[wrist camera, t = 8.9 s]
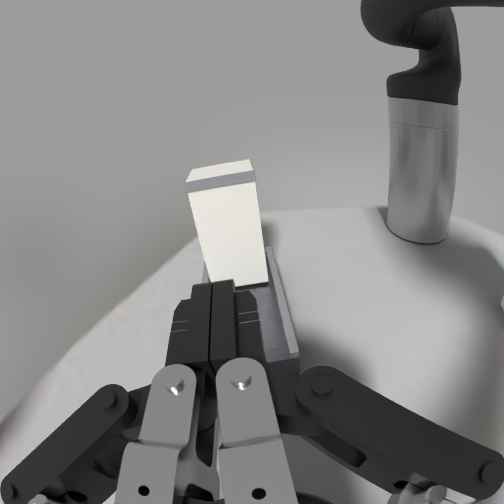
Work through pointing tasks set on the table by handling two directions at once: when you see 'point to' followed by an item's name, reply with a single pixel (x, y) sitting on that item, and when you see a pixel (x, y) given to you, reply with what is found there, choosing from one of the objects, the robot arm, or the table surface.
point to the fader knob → (228, 221)
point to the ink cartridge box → (502, 303)
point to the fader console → (273, 318)
